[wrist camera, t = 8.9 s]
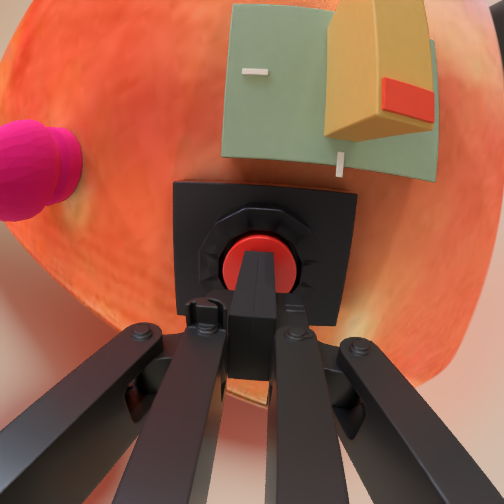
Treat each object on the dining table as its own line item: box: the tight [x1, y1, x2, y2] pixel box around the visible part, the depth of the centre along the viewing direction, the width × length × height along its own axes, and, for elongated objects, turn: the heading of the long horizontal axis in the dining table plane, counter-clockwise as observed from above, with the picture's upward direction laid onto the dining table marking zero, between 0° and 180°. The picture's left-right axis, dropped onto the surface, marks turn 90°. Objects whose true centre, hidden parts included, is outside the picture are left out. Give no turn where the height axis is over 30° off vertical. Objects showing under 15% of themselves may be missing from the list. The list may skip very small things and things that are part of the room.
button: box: [223, 230, 297, 293], centre depth 16 cm, size 4×4×2 cm
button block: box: [173, 179, 357, 326], centre depth 18 cm, size 11×9×4 cm
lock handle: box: [324, 0, 435, 142], centre depth 9 cm, size 7×2×8 cm, turn 176°
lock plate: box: [221, 4, 439, 182], centre depth 14 cm, size 13×11×3 cm
